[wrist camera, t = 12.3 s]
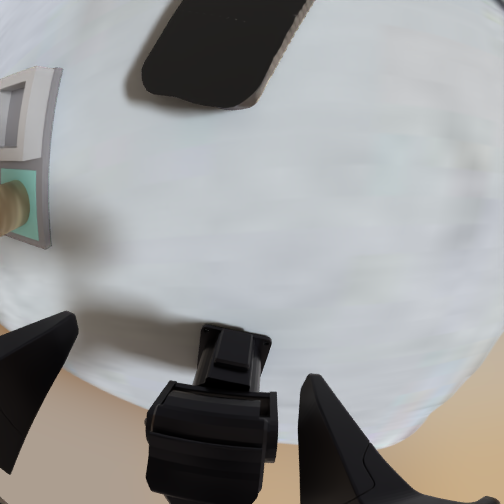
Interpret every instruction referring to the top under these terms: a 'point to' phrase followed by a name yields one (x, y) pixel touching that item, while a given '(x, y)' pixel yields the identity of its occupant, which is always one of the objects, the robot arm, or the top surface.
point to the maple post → (13, 206)
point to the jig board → (29, 143)
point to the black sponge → (222, 50)
